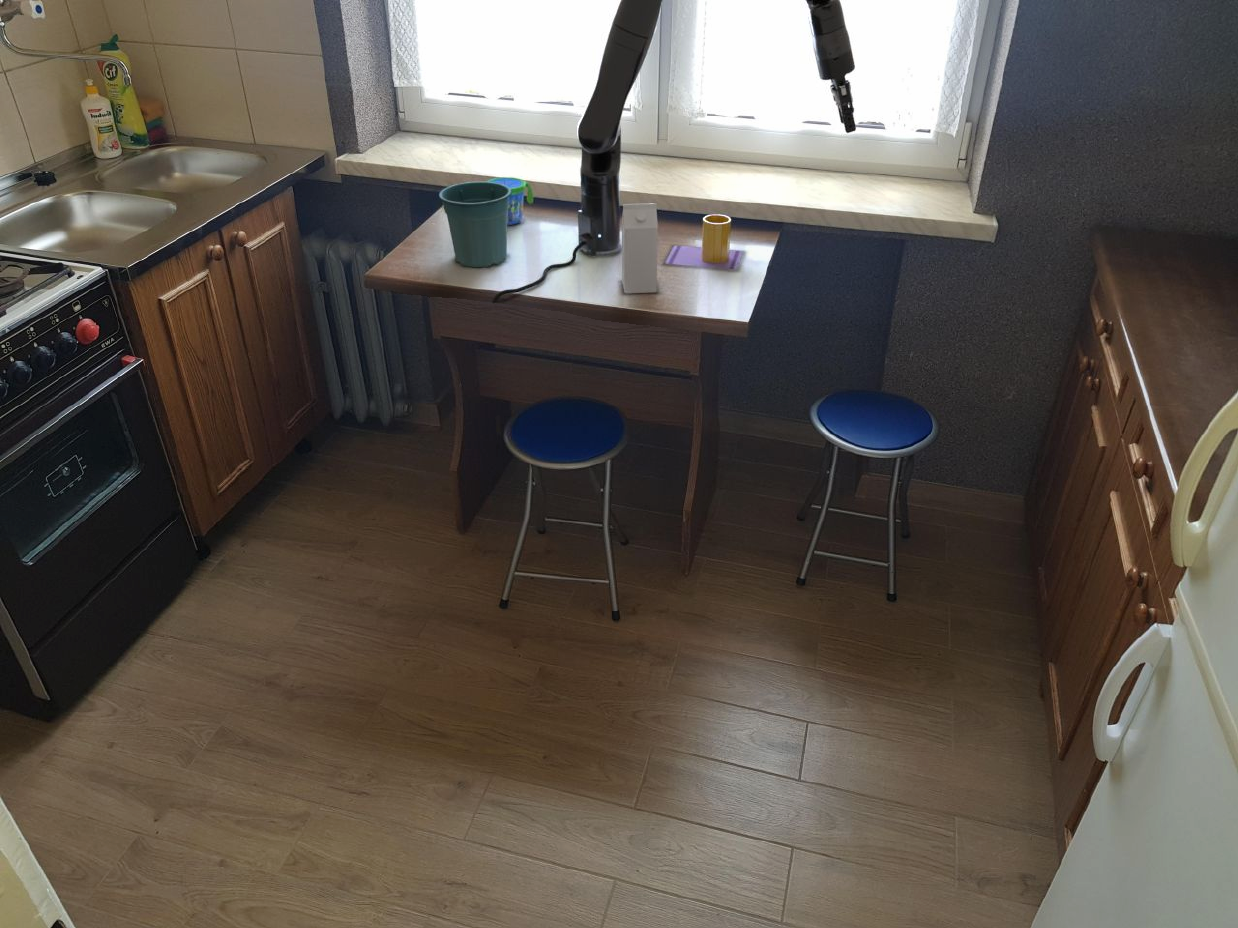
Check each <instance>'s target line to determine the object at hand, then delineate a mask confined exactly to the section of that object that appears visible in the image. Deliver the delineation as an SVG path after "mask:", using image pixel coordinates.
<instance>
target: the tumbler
mask: <svg viewBox="0 0 1238 928" xmlns="http://www.w3.org/2000/svg"><path fill="white" fill-rule="evenodd" d="M731 230H732V219H731V217H730V216H728V215H725V214H708V215H705V216H704V217H703V218H702V233H701V234H702V235H701V248H702V253H701V258H702V260H704V261H706V262H710V263H722V262H726V261H727V260H728V259H729V250H731V249H730V248H731V247H730V246H731V232H732V231H731Z"/></svg>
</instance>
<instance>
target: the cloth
mask: <svg viewBox="0 0 1238 928" xmlns="http://www.w3.org/2000/svg"><path fill="white" fill-rule="evenodd" d="M701 253H702V246H701V247H699V246H689V245H676V244H674V245H673V247H672V249H671V251H670V253H669V255H668V257H667V258H666V260H665V262H664V264H665V265H677V266H686V267H687V266H688V267H698V268H708V269H709V268H710V269H721V270H731V271H732V270H733V271H737V270H738V268H739V265H740V262H741V259H742V256H743V253H744V250H738V249H737V250H736V249H729V259H728V260H727V261H726V262H722V263H710V262H706V261H704V260H702V258H701Z"/></svg>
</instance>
